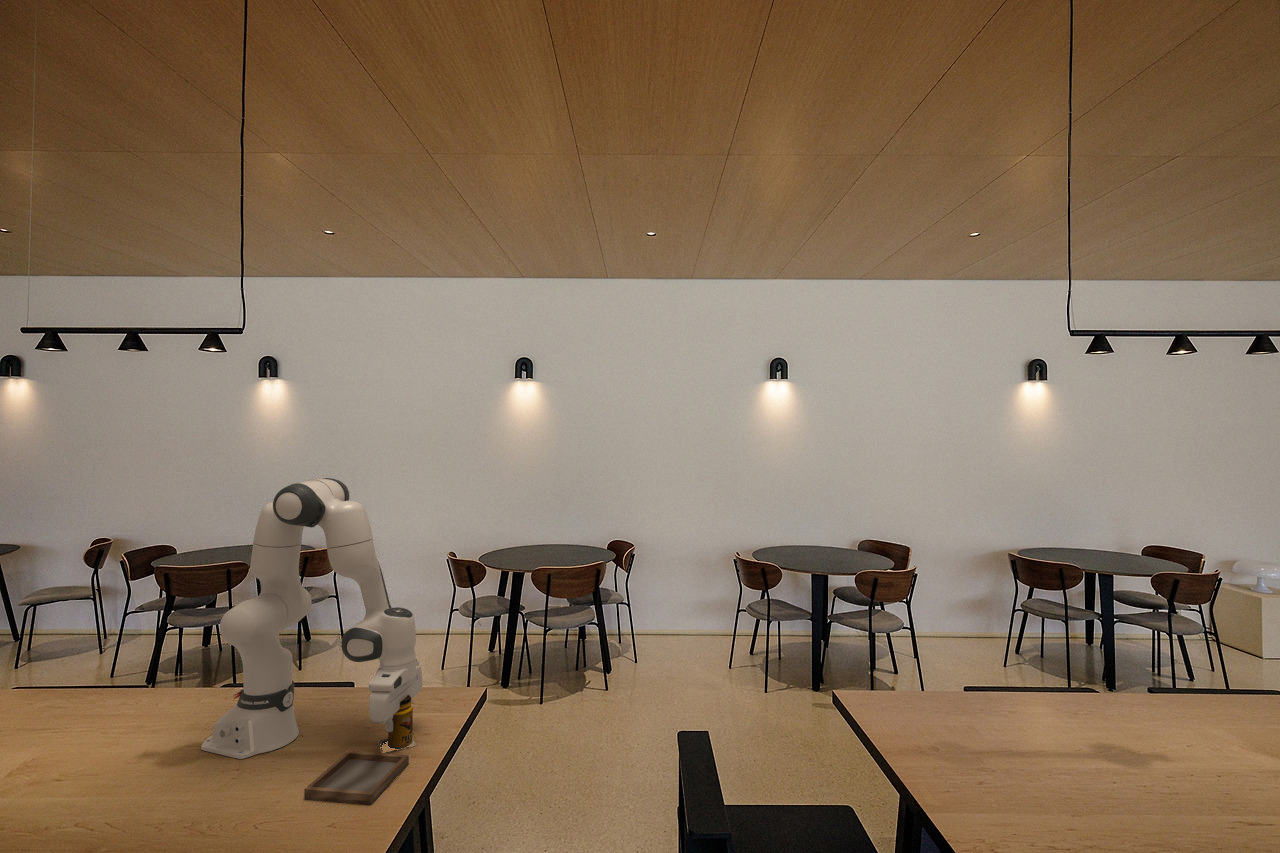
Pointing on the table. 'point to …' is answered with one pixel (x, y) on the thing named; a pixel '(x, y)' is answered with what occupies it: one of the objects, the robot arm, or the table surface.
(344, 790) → the square wooden tray
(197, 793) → the table surface
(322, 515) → the robot arm
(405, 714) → the condiment
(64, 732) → the table surface
